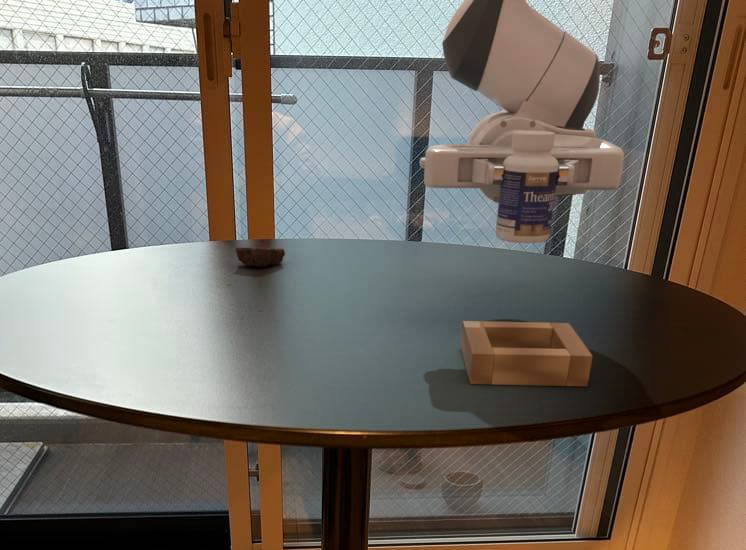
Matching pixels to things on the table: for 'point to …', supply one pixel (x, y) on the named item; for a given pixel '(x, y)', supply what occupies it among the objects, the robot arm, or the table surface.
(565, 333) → the socket block
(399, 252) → the table surface
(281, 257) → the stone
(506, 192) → the pill bottle
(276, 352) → the table surface
